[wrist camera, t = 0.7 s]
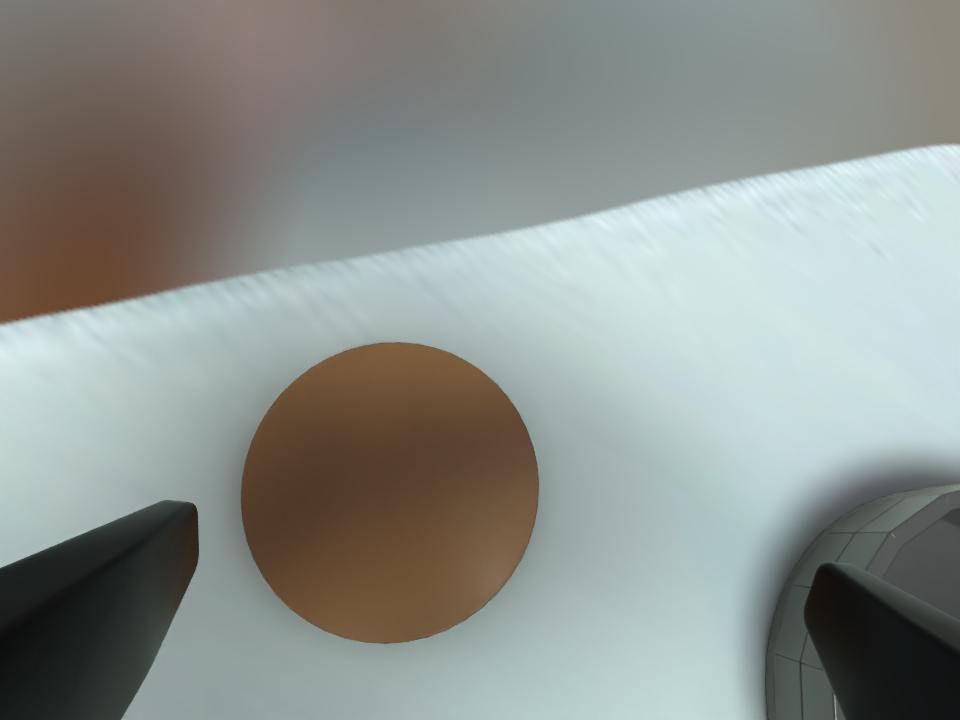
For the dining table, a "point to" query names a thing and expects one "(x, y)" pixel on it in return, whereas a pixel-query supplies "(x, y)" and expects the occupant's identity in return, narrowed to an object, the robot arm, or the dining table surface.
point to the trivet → (389, 493)
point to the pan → (881, 552)
